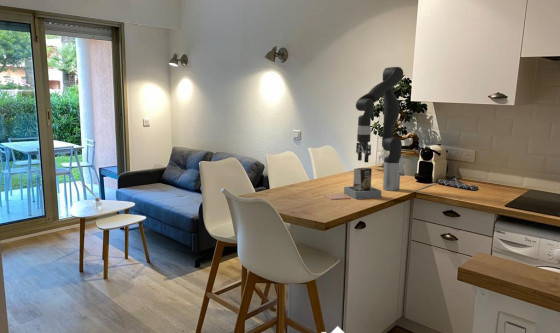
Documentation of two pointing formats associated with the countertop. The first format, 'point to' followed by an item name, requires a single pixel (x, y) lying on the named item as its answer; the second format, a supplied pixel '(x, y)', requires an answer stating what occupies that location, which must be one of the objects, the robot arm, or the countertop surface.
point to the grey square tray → (362, 193)
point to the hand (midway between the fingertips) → (362, 161)
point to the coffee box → (362, 179)
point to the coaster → (337, 196)
